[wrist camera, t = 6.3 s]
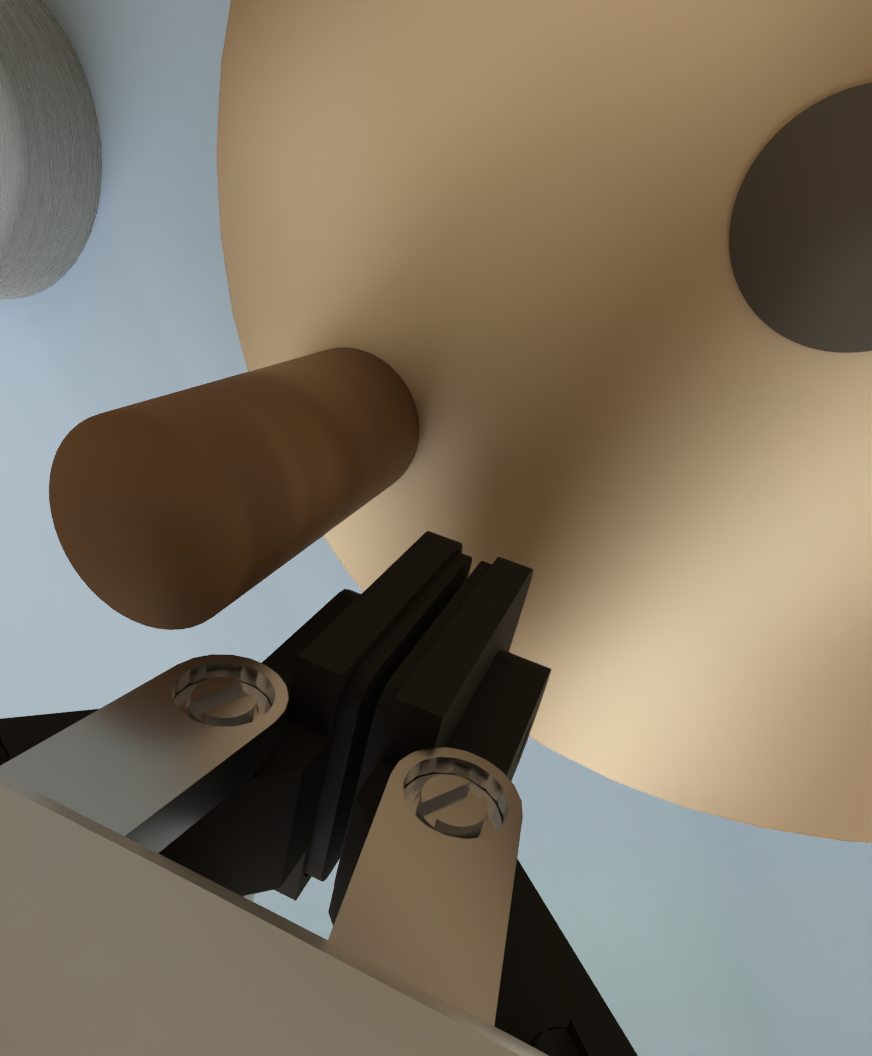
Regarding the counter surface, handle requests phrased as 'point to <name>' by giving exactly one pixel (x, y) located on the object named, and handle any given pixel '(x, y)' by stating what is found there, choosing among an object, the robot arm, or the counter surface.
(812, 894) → the counter surface
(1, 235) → the silver rounded piece
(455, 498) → the turntable
